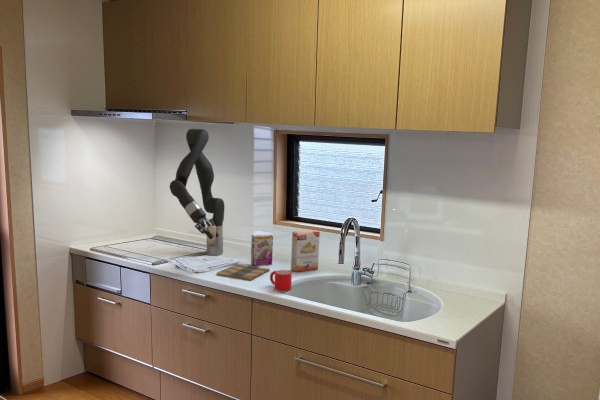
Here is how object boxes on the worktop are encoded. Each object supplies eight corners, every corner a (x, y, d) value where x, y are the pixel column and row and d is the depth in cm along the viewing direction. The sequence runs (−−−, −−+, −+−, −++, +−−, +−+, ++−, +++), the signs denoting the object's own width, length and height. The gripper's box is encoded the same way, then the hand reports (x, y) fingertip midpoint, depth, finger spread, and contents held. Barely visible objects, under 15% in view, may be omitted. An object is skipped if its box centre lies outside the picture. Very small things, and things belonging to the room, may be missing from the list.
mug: (274, 283, 259) (275, 267, 258) (294, 288, 252) (295, 272, 251) (264, 287, 253) (264, 270, 252) (284, 292, 246) (284, 275, 245)
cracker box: (296, 272, 279) (297, 233, 276) (290, 269, 284) (291, 231, 281) (318, 269, 286) (320, 231, 283) (312, 266, 291) (314, 229, 288)
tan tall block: (210, 244, 279) (210, 225, 278) (217, 245, 277) (217, 226, 276) (205, 245, 275) (205, 226, 274) (212, 246, 273) (212, 227, 272)
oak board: (236, 266, 288) (236, 263, 288) (269, 271, 280) (269, 268, 280) (216, 275, 270) (216, 272, 270) (251, 280, 262) (251, 278, 262)
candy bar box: (252, 266, 289) (253, 236, 287) (250, 263, 294) (251, 234, 291) (272, 264, 293) (273, 235, 290) (270, 262, 297) (270, 233, 295)
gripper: (191, 209, 270) (211, 235, 267) (207, 205, 283) (226, 230, 280) (182, 218, 273) (202, 244, 270) (198, 214, 286) (217, 239, 283)
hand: (214, 237), depth 275 cm, fingers closed on tan tall block, 4 cm apart
